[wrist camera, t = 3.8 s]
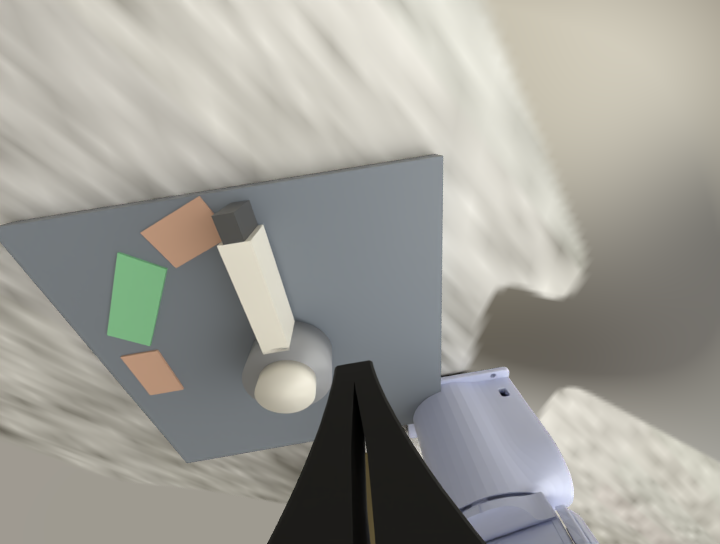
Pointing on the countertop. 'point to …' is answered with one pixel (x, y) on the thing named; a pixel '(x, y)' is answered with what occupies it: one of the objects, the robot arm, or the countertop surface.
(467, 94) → the countertop surface
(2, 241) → the board
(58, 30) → the countertop surface
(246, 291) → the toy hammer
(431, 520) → the robot arm
